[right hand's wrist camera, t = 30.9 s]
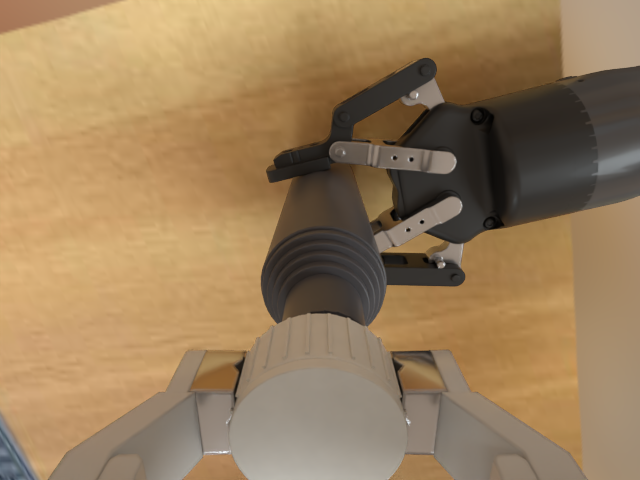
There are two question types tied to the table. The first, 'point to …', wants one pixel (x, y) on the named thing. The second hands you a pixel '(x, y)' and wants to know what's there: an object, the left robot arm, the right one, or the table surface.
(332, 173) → the bottle
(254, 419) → the cap
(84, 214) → the table surface
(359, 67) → the table surface
